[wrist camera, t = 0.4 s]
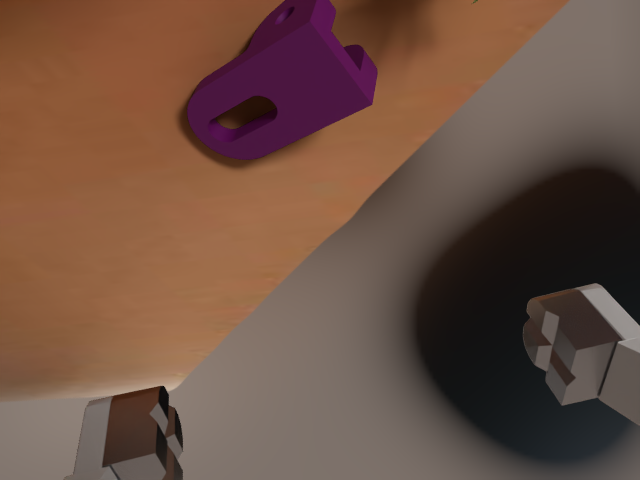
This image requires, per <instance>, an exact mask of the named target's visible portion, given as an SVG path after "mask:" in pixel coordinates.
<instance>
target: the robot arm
mask: <svg viewBox="0 0 640 480" xmlns="http://www.w3.org/2000/svg"><path fill="white" fill-rule="evenodd" d="M527 313H528V314H529V315H530V317H531V318H530V319H529V320H528V321H527V322H526V324H525V325H524V331H523V338H524V343H525V348H526V350H527V352H528V354H529V357H530V358H531V360H532V361H533V363H534V364H535V365H536V366H538V367H540V368H541V369H543V370H545V371H547V375H546V382H547V384H548V385H549V387H550V388H551V390H552V391H553V393H554V394H555V396H556V397H557V399H558V400H559V402H560V403H561V405H566V404H570V403H575V402H580V401H584V400H588V399H593V398H597V397H599V400H601V401H602V402H604V403H605V404H607V405H609V406H610V407H612V408H613V409H615V410H616V411H618V412H619V413H621V414H622V415H624V416H625V417H627V418H629V419H630V420H632V421H633V422H635V423H636V424H638V425H639V426H640V326H639V325H638V324H637V323H636V322H635V321H634V320H633V319H632V318H631V317H630V316H629V315H628V313H626V311H625V310H624V309H623V308H622V307H621V306H620V305H619V304H618V303H617V302H616V301H615V300H614V299H613V298H612V297H611V296H610V295H609V293H608V292H607V291H606V290H605V289H604V288H603V287H602V286H600V285H598V284H591V285H587V286H583V287H578V288H575V289H568V290H564V291H560V292H556V293H553V294H548V295H544V296H540V297H536V298H532V299H531V300H530V301H529V302H528V306H527ZM182 452H183V436H182V428H181V423H180V419H179V416H178V414H177V411H176V409H175V408H174V407H172V406H169V394H168V393H167V391H166V389H165V387H164V386H158V387H153V388H148V389H144V390H139V391H134V392H129V393H124V394H120V395H115V396H111V397H106V398H102V399H98V400H93V401H90V402H89V403H88V405H87V407H86V408H85V413H84V418H83V423H82V429H81V434H80V440H79V446H78V450H77V456H76V461H75V467H74V472H73V475H70V476H67V477H65V478H64V480H183V470H182V468H181V466H180V464H179V462H178V460H177V459H178V458H179V457H180V455H181V453H182Z"/></svg>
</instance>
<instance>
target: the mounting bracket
mask: <svg viewBox="0 0 640 480" xmlns="http://www.w3.org/2000/svg"><path fill="white" fill-rule="evenodd" d="M335 14H336V10H335V8H334V6H333V5H332V3H331V2H330V1H329V0H285V1H284V2H283V3H281V4H280V5H279V6H278V7H277V8H276V9H275V10H274V11H272V12H271V13H270V14H269V15H268V16H267V17H266V18H265V20H264V21H263V22H262V23H261V25H260V26H259V27H258V29H257V30H256V32H255V34H254V36H253V38H252V40H251V43H250V45H249V47H248V48H247V50H246V51H245V52H244V53H243V54H241V55H240V56H238V57H237V58H235V59H233V60H232V61H230V62H229V63H227V64H226V65H224V66H223V67H221V68H219V69H218V70H216V71H215V72H213V73H212V74H210V75H208V76H207V77H205V78H204V79H203V80H202V81H201V82H200V83H199V84H198V86H197V88H196V90H195V92H194V94H193V95H192V97H191V99H190V101H189V104H188V109H187V115H188V121H189V124H190V126H191V128H192V130H193V131H194V133H195V134H196V136H197V137H198V138H199V139H200V140H201V141H202V142H203V143H204V144H205V145H206V146H208V147H209V148H211V149H212V150H214V151H216V152H217V153H219V154H222V155H224V156H227V157H230V158H235V159H242V160H250V159H257V158H260V157H263V156H265V155H267V154H269V153H271V152H274V151H276V150H278V149H280V148H282V147H284V146H286V145H288V144H290V143H292V142H295V141H297V140H299V139H301V138H303V137H305V136H307V135H309V134H311V133H314V132H316V131H318V130H320V129H322V128H324V127H326V126H328V125H330V124H332V123H335V122H337V121H339V120H341V119H343V118H345V117H347V116H349V115H351V114H354V113H356V112H358V111H360V110H362V109H364V108H366V107H368V106H370V105H372V103H373V97H374V91H375V85H376V79H377V68H376V66H375V65H374V63H373V62H372V60H371V59H370V58H369V56H368V55H367V53H366V52H365V50H364V49H363V48H362V47H361V46H360V45H350V46H346V47H344V48H343V47H342V45H341V44H340V43H339V41H338V40H337V38H336V37H335V36H334V34H333V33H332V32H331V29H332V25H333V22H334V18H335ZM253 96H263V97H266V98H268V99H270V100H271V101H272V102H273V103H274V104H275V105H276V107H277V108H275V109H273V110H272V111H270V112H268V113H266V114H264V115H262V116H260V117H258V118H257V119H255V120H253V121H251V122H249V123H247V124H245V125H243V126H242V127H240V128H237V129H228V128H225V127H223V126H221V125H220V124H219V123H218V122H217V121H216V120H215V117H217V116H219V115H220V114H222V113H224V112H226V111H227V110H229V109H231V108H233V107H234V106H236V105H238V104H240V103H242V102H243V101H245V100H247V99H249V98H250V97H253Z"/></svg>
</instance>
